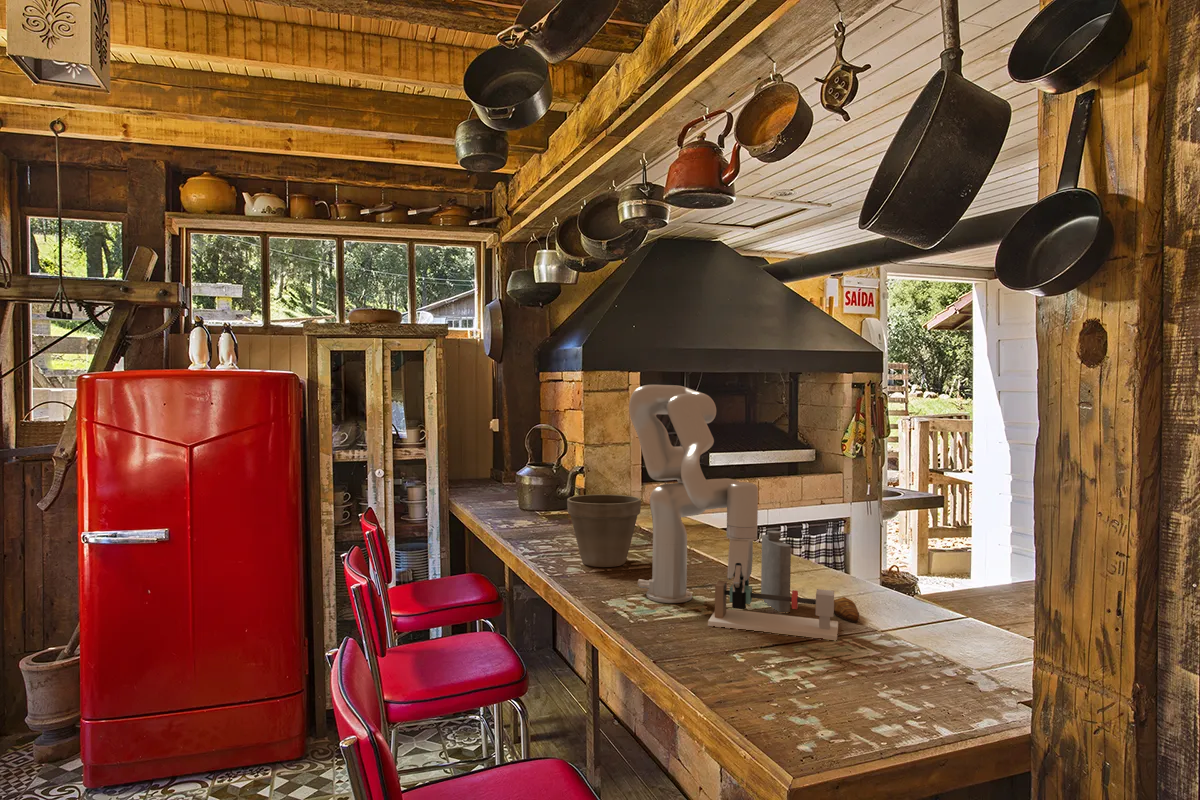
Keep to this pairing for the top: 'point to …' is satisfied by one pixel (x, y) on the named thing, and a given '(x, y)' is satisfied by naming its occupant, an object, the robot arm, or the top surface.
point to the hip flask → (775, 570)
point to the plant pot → (604, 527)
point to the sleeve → (748, 593)
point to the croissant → (846, 609)
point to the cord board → (778, 622)
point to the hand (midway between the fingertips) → (740, 604)
